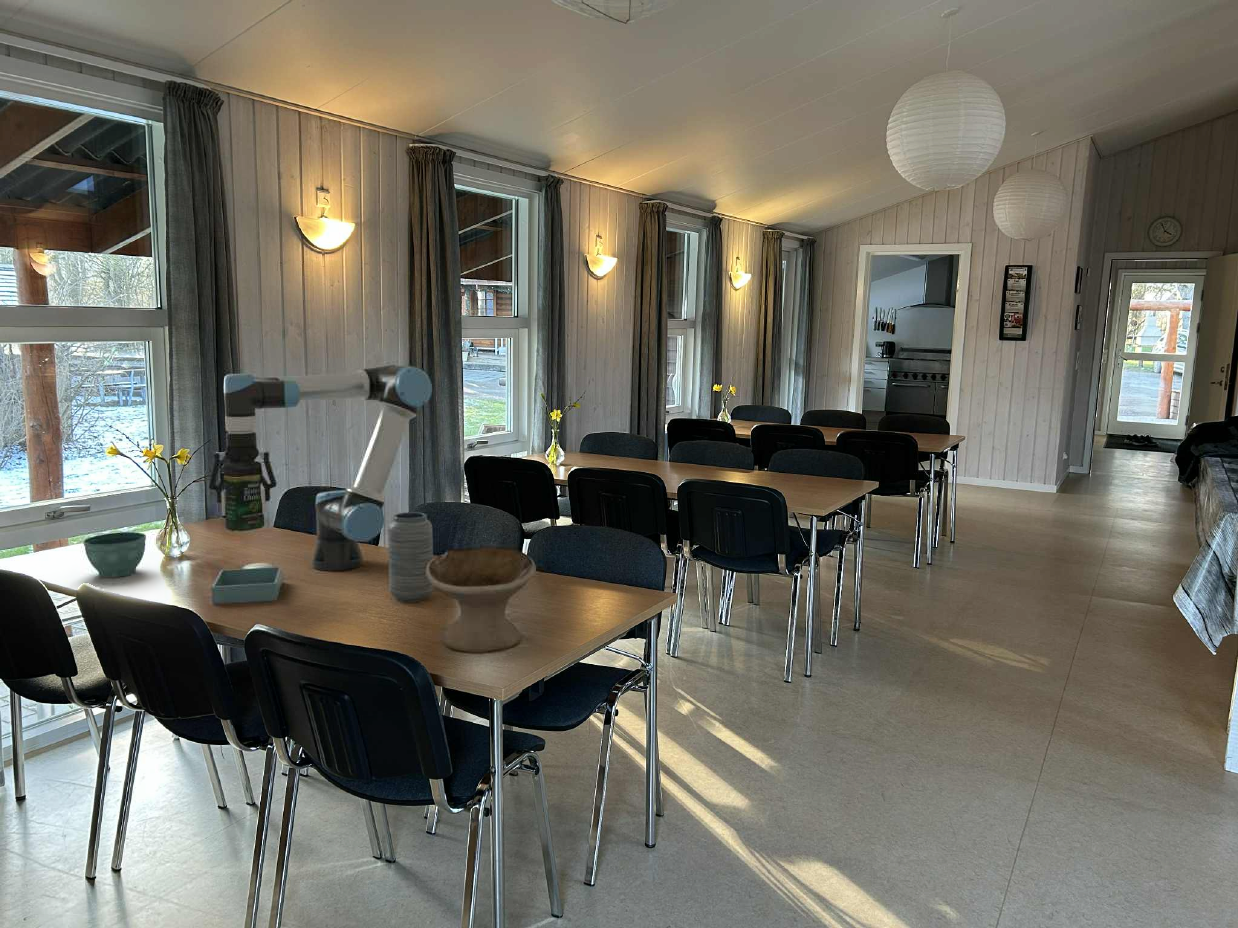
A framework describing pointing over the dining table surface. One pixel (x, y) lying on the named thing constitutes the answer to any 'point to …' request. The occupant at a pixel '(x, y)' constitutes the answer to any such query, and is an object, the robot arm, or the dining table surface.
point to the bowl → (481, 594)
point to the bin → (247, 585)
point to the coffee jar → (243, 496)
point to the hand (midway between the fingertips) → (244, 513)
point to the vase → (410, 556)
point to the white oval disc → (258, 565)
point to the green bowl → (115, 553)
